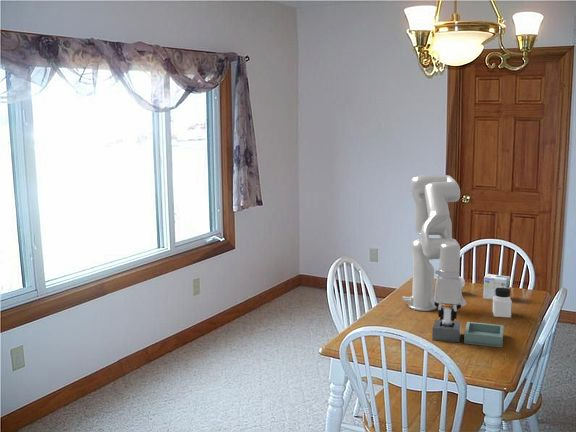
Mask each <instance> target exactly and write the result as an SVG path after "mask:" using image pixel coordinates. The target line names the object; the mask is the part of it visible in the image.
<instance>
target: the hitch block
mask: <svg viewBox="0 0 576 432" xmlns="http://www.w3.org/2000/svg"><path fill="white" fill-rule="evenodd" d="M461 333H462V321H455V320H454V321H453V322H452V327H443V326H442V320H440V319H435V320H434V323H433V326H432V336H431V338H432V339H431V340H432V341H441V342H448V343H449V342H450V343H458V344H459V342H460V338H461Z"/></svg>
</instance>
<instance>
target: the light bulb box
mask: <svg viewBox="0 0 576 432" xmlns="http://www.w3.org/2000/svg"><path fill="white" fill-rule="evenodd" d="M510 282H511V276H509V275H500V274H490V273H487V274H486V275H485V276H484V277H483V291H482V292H483V295H482V299H484V300H485V299H486V300H491V301H493V297H494V296H495V293H496V288H498V287H506V288H509V289H510V290H511V288H510V285H511V283H510Z"/></svg>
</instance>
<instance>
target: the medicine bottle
mask: <svg viewBox="0 0 576 432" xmlns="http://www.w3.org/2000/svg"><path fill="white" fill-rule="evenodd" d="M512 308H513V302H512V299H511V288H510V289H509V288H506V287H498V288H496V293H495V296H494V297H493V300H492V313H493V314H492V315H493V317H495V318H510V319H511V318H512V312H513V311H512Z"/></svg>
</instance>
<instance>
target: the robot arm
mask: <svg viewBox="0 0 576 432" xmlns="http://www.w3.org/2000/svg"><path fill="white" fill-rule="evenodd" d="M410 192H411V195H412V196H411V197H412V198H413V201H414V202H413V203H414V230H415V233H417V234H418V235H419V236H420V238H416V239H415V240H413V241H412V242H411V246H410V247H411V255H412V257H411V258H412V287H411V289H412V290H411V291H412V292H411V295H410V296H403V295H402V299H401V300H402V301H403V302H405V303H407V302H408V305H407V307H408V308H409V309H411V310H413V311H420V312H431V311H434V310H436V309H438V318H439V320H442V311H443V310H442V309H443V306H442V304H453V312H452V321H455V319H457V314H458V313H457V311H458V310H460V309H461V308H463V307H464V306H466V305H467V301H466V300H465V298H464V297H463V292H462V291H463V288H462V284H461V278H460V277H461V276H460V263H461V262H460V260H461V258H460V257H461V246H460V244H459V242H458V241H457V240H456V239H455V238H453V232H452V231H453V228H452V227H453V224H452V220H451V217H450V209H449V205H448V204H449V203H453V202H454V203H456V202H458V201H459V200H460V197H461V189H460V186H459V184H458V182H457V181H456V180H455V179H454V178H453V177H452V176H451V175H448V174H422V175H417V176H414V177H412V179H411V181H410ZM430 236H439V237H430ZM430 260H431V261H433V260H439V269H438V270H437V269H436V270H435V267H434V265H433V264H432V263H431V262H430ZM435 275H438V276H437V277H436V281H435Z"/></svg>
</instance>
